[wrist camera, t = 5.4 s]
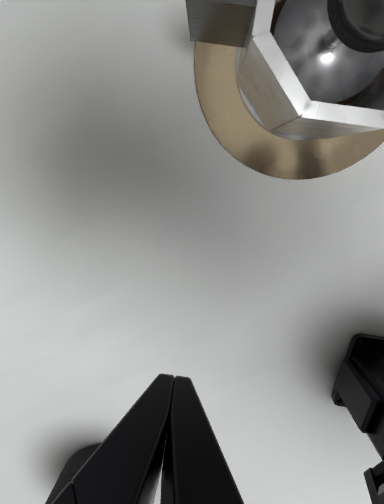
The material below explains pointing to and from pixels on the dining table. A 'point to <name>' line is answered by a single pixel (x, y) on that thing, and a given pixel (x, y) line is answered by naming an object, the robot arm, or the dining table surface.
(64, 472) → the pen holder
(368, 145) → the moka pot
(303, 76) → the dark round knob
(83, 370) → the dining table surface
